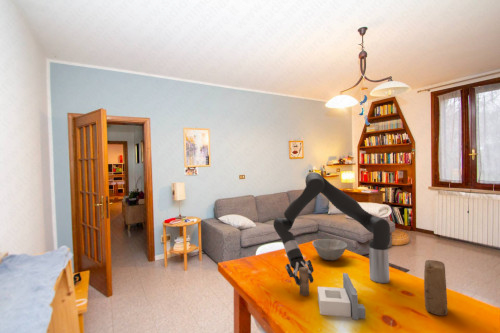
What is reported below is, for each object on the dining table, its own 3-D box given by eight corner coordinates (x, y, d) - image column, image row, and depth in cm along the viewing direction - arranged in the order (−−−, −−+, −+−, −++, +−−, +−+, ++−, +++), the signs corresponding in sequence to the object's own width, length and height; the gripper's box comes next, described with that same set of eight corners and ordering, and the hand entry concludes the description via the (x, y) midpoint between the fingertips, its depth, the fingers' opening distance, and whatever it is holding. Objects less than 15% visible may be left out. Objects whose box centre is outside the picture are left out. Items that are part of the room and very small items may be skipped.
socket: (318, 299, 113) (317, 286, 113) (345, 301, 111) (344, 288, 111) (320, 315, 101) (320, 300, 101) (351, 317, 99) (350, 302, 99)
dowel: (299, 290, 121) (298, 266, 121) (308, 291, 120) (308, 267, 120) (299, 295, 116) (299, 270, 116) (309, 296, 116) (308, 270, 116)
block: (447, 319, 95) (446, 268, 95) (424, 312, 100) (422, 264, 100) (447, 306, 104) (445, 260, 104) (425, 301, 109) (424, 256, 109)
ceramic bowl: (342, 252, 172) (341, 238, 172) (352, 265, 149) (352, 249, 149) (310, 252, 174) (309, 238, 174) (315, 265, 151) (315, 249, 152)
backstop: (343, 293, 117) (342, 273, 117) (354, 294, 116) (353, 273, 116) (352, 319, 97) (352, 294, 97) (366, 320, 96) (365, 295, 96)
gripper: (282, 249, 123) (295, 283, 112) (307, 245, 128) (321, 277, 116) (278, 256, 128) (290, 289, 117) (302, 252, 133) (315, 283, 121)
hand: (305, 283), depth 117 cm, fingers open, 6 cm apart
